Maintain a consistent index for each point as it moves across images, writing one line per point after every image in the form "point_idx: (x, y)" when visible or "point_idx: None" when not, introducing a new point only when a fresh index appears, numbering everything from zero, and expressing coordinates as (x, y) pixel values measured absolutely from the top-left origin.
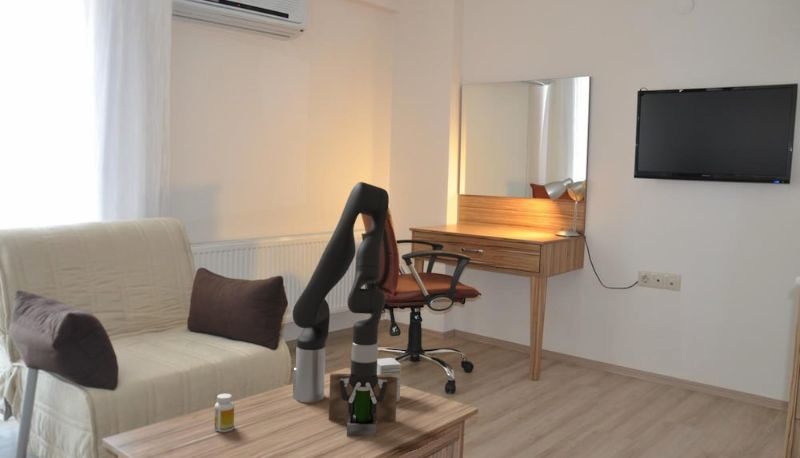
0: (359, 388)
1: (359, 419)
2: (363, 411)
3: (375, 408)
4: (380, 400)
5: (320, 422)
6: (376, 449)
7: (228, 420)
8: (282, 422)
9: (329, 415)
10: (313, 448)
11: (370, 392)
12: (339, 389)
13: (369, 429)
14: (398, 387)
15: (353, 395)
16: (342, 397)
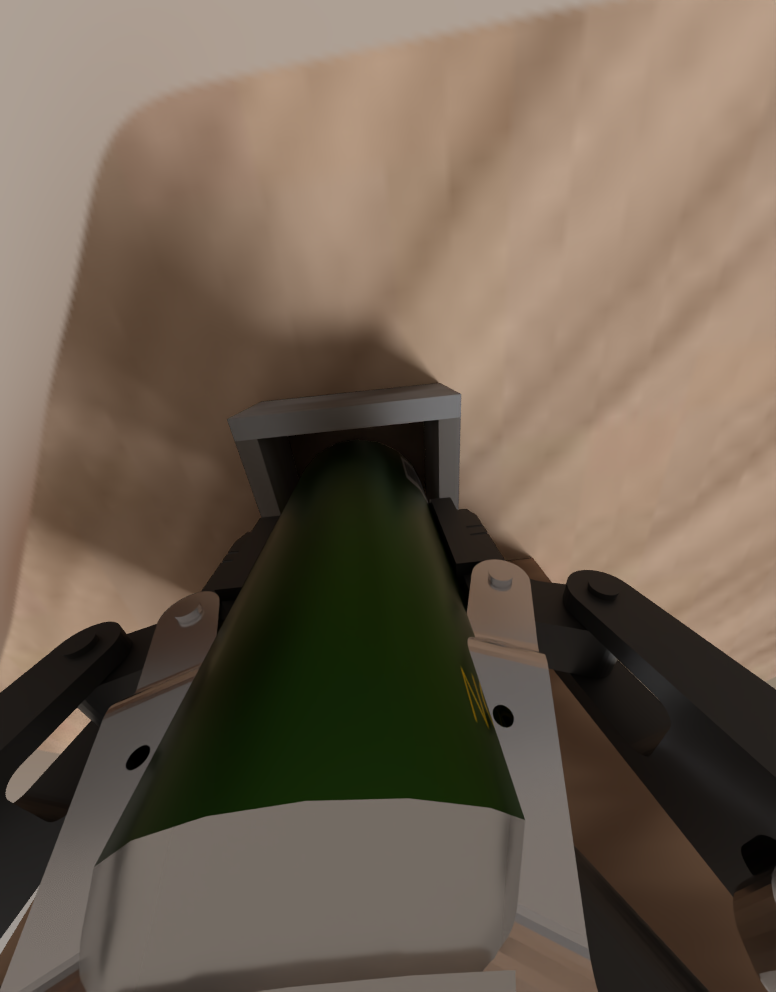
0: (416, 913)
1: (369, 455)
2: (329, 488)
3: (227, 565)
4: (91, 636)
5: (573, 533)
6: (179, 150)
7: None
8: (758, 501)
9: (543, 575)
10: (699, 76)
11: (141, 767)
12: (591, 753)
13: (288, 406)
14: None
15: (501, 646)
16: (644, 600)
